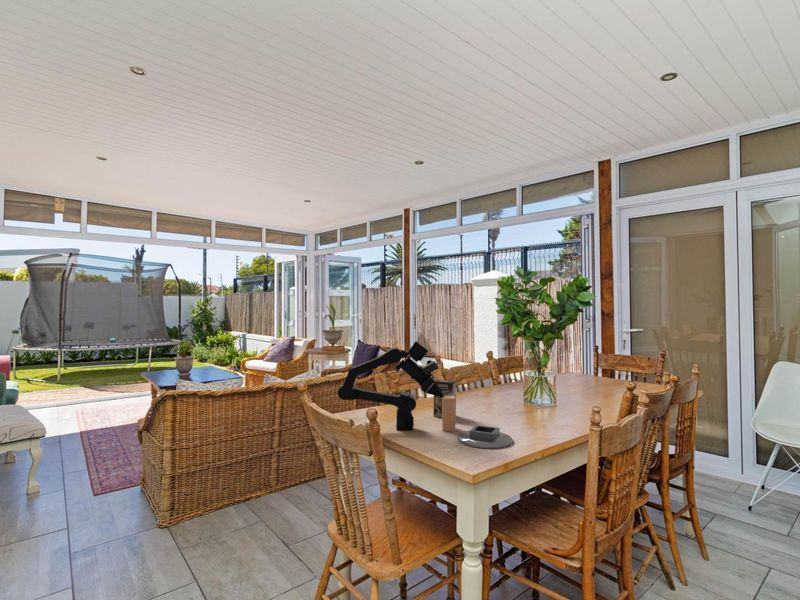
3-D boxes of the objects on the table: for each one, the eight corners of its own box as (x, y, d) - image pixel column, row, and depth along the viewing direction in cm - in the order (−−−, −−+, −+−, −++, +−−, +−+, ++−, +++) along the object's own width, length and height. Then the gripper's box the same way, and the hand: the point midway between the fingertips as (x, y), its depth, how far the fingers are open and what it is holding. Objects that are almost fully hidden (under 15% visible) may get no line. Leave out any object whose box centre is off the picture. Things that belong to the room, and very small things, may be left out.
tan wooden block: (442, 430, 173) (442, 398, 174) (442, 427, 178) (442, 395, 179) (455, 431, 173) (455, 398, 173) (454, 427, 178) (454, 396, 178)
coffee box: (433, 416, 196) (433, 381, 196) (437, 413, 202) (437, 379, 202) (452, 418, 192) (452, 382, 192) (456, 415, 198) (456, 380, 198)
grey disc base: (450, 443, 157) (450, 432, 157) (467, 429, 175) (467, 419, 175) (505, 452, 148) (505, 440, 148) (517, 436, 166) (517, 426, 166)
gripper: (426, 357, 168) (457, 383, 167) (425, 352, 186) (453, 375, 186) (408, 379, 168) (439, 405, 167) (408, 372, 186) (436, 395, 186)
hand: (442, 394), depth 177 cm, fingers open, 9 cm apart
